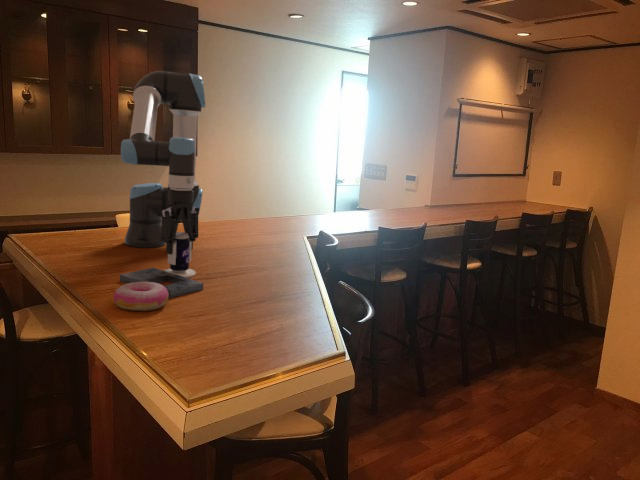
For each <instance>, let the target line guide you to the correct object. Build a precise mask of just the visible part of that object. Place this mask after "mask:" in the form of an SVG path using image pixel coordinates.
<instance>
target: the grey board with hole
mask: <svg viewBox="0 0 640 480" xmlns="http://www.w3.org/2000/svg"><path fill="white" fill-rule="evenodd" d="M119 281H120V282H122V283H125V284H128V283H134V282H154V283H158V284H162V283H166V282H169V283H170V284H165V285H163V286H164V287H165V288H166V289H167V291H168V293H169V296H168V299H173V298H176V297H181V296H184V295H188V294H190V293H191V294H192V293H195V292H199V291H203V290H204V282H201V281H198V280H195V279H192V278H190V277H188V278H186V277H182V276H179V275H176V274H173V273H169V272H166V271H164V269H163V270H162V269H159V268H156V267H149V268H146V269H140V270H136V271H130V272H126V273H121V274H119Z"/></svg>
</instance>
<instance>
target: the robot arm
mask: <svg viewBox="0 0 640 480" xmlns="http://www.w3.org/2000/svg"><path fill="white" fill-rule="evenodd" d="M204 85H205V84H204V80H203V78H202V76H201V75H199V74H193V73H186V72H185V73H184V72H173V71H164V70H156V71H152V72H150V73H147V74H146V75H144V76H143V77H141V79H140V80H139V81H138V82H137V83H136V85H135V86H134V89H133V93H132V99H133V102H134V106H133V107H134V108H133V114H132V121H131V128H130V135H129V136H130V137H129V138H127V139H122V141H121V142H120V159H121V162H122V163H124V164H129V165H133V166H134V165H136V166H137V165H139V166H140V165H141V166H159V167H160V166H161V167H163V166H164V167H168V181H167V186H163V184H162V183H161V182H148V183H138V184H134V185H132V186H131V187H130V190H129V198H128V199H129V225H128V228H127V230H126V235H125V236H124V245H126V246H128V247H133V248H158V247H163V246H165V245H166V249H165V251H166V254H167V264H169V265H170V264H172V265H175V263H176V244H174V240H175V236H176V232H178V226H179V224H180V223H181V222H182V227H183V232H184V233H188V236H189V238H190V240H189V263H190V262H192V251H193V250H194V246H193V245H194V242H196V240H197V239H199V214H200V211H201V206H202V200H203V191H204V190H203V189H202V188H200V184H199V183H198V182H197V180H196V166H197V165H196V162H197V161H196V160H197V133H198V132H197V130H198V129H197V128H198V126H197V125H198V116H199V115H200V114H201V113H202V109H203V108H206V97H205V96H206V95H205V88H204V87H205V86H204ZM161 104H162V105H168V106H169V107H168V110H169V111H170V112H171V113H172V117H173V119H172V120H173V121H172V124H173V125H172V137H171V138H169V141H158V140H156V141H155V138H156V129H157V128H156V127H157V117H158V108H159V106H161Z"/></svg>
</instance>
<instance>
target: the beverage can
mask: <svg viewBox="0 0 640 480" xmlns="http://www.w3.org/2000/svg"><path fill="white" fill-rule="evenodd" d="M189 240H190V238H189V236H188V233H185V231H183V232H182V231H177V232H176V236H175V240H174V244H176V263H175V265H172V264H169V267H170V268H169V269H171V270H172V271H173V272H177V273H182V272H186V270H188V269H190V268H189V267H190V262H189Z"/></svg>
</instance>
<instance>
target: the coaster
mask: <svg viewBox="0 0 640 480" xmlns="http://www.w3.org/2000/svg"><path fill="white" fill-rule="evenodd" d="M163 271H166V272H169V273H173V274H176V275H179V276H182V277H186V278H192V277H194V276H196V271H195V270H194V269H192V268H189V269H188V270H186V272H182V273H177V272H173V271H172V270H171V269H170V268H167V269H165V270H164V269H163Z"/></svg>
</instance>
